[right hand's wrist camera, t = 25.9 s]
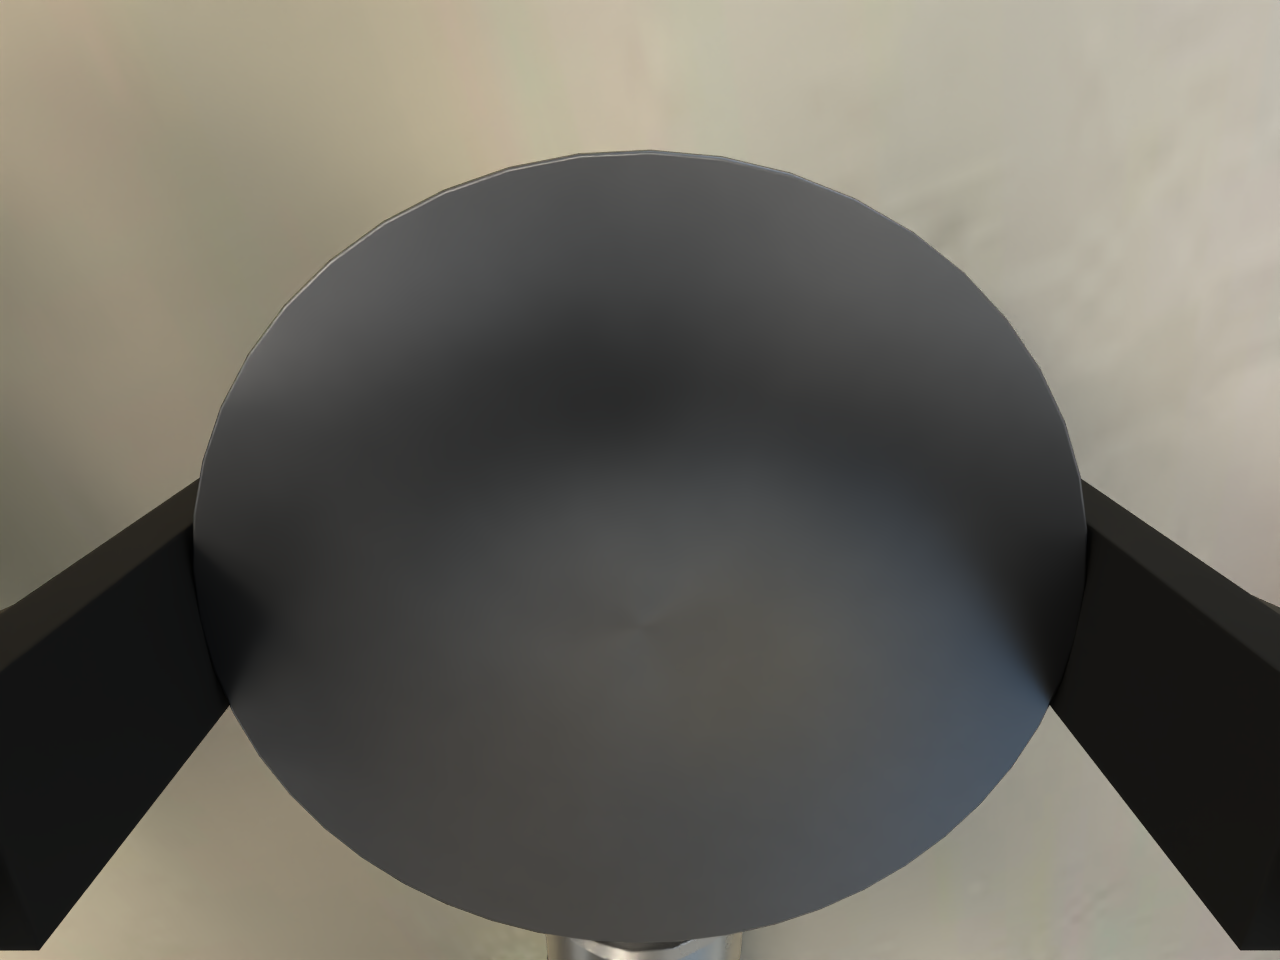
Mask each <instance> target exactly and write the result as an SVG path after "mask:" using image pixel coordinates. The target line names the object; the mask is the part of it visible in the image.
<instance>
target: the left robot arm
mask: <svg viewBox="0 0 1280 960" xmlns="http://www.w3.org/2000/svg"><path fill="white" fill-rule="evenodd" d="M546 941H547V953H548V954H547V959H548V960H740V953H741V946H742V932H740V933H735V934H731V935H725V936H717V937H710V938H702V939H694V940H687V941H673V942H644V943H627V942H610V941H594V940H582V939H576V938H569V937H563V936H557V935H550V934H546Z"/></svg>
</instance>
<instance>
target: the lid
mask: <svg viewBox="0 0 1280 960" xmlns="http://www.w3.org/2000/svg"><path fill="white" fill-rule="evenodd" d="M1086 555H1087V525H1086V517H1085V509H1084V501H1083V493H1082V485H1081V477H1080V473H1079V469H1078V466H1077V462H1076V459H1075V455H1074V452H1073V448H1072V445H1071V441H1070V438H1069V434H1068V431H1067V427H1066V424H1065V421H1064V419H1063V417H1062V414H1061V412H1060V410H1059V408H1058V406H1057V404H1056V402H1055V399H1054V397H1053V395H1052V393H1051V391H1050V389H1049V386H1048V384H1047V382H1046V380H1045V378H1044V376H1043V374H1042V371H1041V369H1040V368H1039V366H1038V365H1037V363H1036V362H1035V360H1034V359H1033V357H1032V356H1031V354H1030V353H1029V351H1028V350H1027V348H1026V347H1025V345H1024V344H1023V342H1022V341H1021V339H1020V338H1019V336H1018V335H1017V333H1016V332H1015V330H1014V329H1013V327H1012V326H1011V324H1010V323H1009V321H1008V320H1007V319H1006V318H1005V316H1004V315H1003V314H1002V313H1001V312H1000V311H999V310H998V309H997V308H996V307H995V306H994V305H993V303H992V302H991V301H990V300H989V299H988V298H987V297H986V296H985V295H984V294H983V293H982V292H981V290H980V289H979V288H978V287H977V286H976V285H975V284H974V283H973V282H972V281H971V280H970V279H969V277H968V276H967V275H966V274H965V273H964V272H963V271H961V270H960V269H959V268H958V267H956V266H955V265H954V264H953V263H951V262H950V261H949V260H948V259H946V258H945V257H944V256H943V255H941V254H940V253H939V252H938V251H936V250H935V249H934V248H933V247H931V246H930V245H929V244H928V243H926V242H925V241H924V240H923V239H921V238H920V237H919V236H917V235H916V234H915V233H914V232H912V231H910V230H909V229H907V228H905V227H904V226H902V225H900V224H898V223H897V222H895V221H893V220H891V219H890V218H888V217H886V216H885V215H883V214H881V213H879V212H878V211H876V210H874V209H872V208H871V207H869V206H867V205H866V204H864V203H862V202H860V201H859V200H857V199H855V198H853V197H850V196H848V195H845V194H843V193H840V192H838V191H835V190H833V189H830V188H828V187H825V186H823V185H820V184H818V183H815V182H812V181H810V180H807V179H805V178H802V177H800V176H797V175H795V174H792V173H789V172H785V171H781V170H777V169H773V168H768V167H764V166H760V165H756V164H752V163H748V162H743V161H739V160H735V159H731V158H727V157H722V156H713V155H702V154H691V153H680V152H669V151H658V150H636V151H616V152H596V153H578V154H573V155H568V156H563V157H558V158H553V159H547V160H542V161H537V162H532V163H527V164H522V165H517V166H511V167H508V168H505V169H502V170H499V171H496V172H493V173H490V174H487V175H485V176H482V177H479V178H476V179H473V180H470V181H467V182H465V183H462V184H459V185H456V186H453V187H450V188H447V189H445V190H442V191H440V192H438V193H436V194H435V195H433V196H431V197H429V198H427V199H425V200H423V201H421V202H419V203H417V204H415V205H413V206H412V207H410V208H408V209H406V210H404V211H402V212H400V213H398V214H396V215H394V216H392V217H390V218H389V219H387V220H385V221H383V222H381V223H380V224H379V225H377V226H376V227H375V228H373V229H372V230H370V231H369V232H368V233H366V234H365V235H364V236H362V237H361V238H359V239H358V240H357V241H355V242H354V243H353V244H351V245H350V246H349V247H347V248H346V249H344V250H343V251H342V252H340V253H339V254H338V255H336V256H335V257H333V258H332V259H331V260H329V261H328V262H327V263H326V264H325V265H324V266H323V267H322V268H321V269H320V270H319V271H318V272H317V273H316V274H315V275H314V276H313V277H312V278H311V279H310V280H309V281H308V282H307V283H306V284H305V285H304V286H303V287H302V288H301V289H300V290H299V291H298V292H297V293H296V294H295V295H294V296H293V297H292V298H291V299H290V300H289V301H288V302H287V303H286V304H285V305H284V306H283V308H282V309H281V310H280V312H279V313H278V314H277V316H276V317H275V318H274V320H273V321H272V322H271V324H270V325H269V327H268V328H267V329H266V331H265V332H264V333H263V335H262V336H261V337H260V339H259V340H258V341H257V343H256V344H255V345H254V347H253V348H252V350H251V351H250V352H249V354H248V355H247V357H246V359H245V361H244V363H243V365H242V367H241V369H240V371H239V373H238V374H237V376H236V378H235V380H234V382H233V384H232V386H231V388H230V390H229V392H228V394H227V396H226V397H225V399H224V401H223V403H222V405H221V407H220V410H219V413H218V416H217V419H216V422H215V425H214V428H213V431H212V434H211V437H210V440H209V443H208V446H207V449H206V452H205V455H204V458H203V462H202V468H201V473H200V479H199V485H198V491H197V497H196V503H195V508H194V514H193V575H194V583H195V590H196V597H197V605H198V611H199V615H200V620H201V624H202V628H203V632H204V636H205V641H206V644H207V648H208V651H209V655H210V658H211V662H212V665H213V668H214V671H215V673H216V675H217V677H218V680H219V682H220V684H221V687H222V689H223V691H224V693H225V696H226V698H227V700H228V702H229V705H230V707H231V709H232V711H233V714H234V715H235V717H236V719H237V720H238V722H239V724H240V725H241V727H242V728H243V730H244V732H245V733H246V735H247V737H248V738H249V740H250V742H251V743H252V745H253V746H254V748H255V750H256V751H257V753H258V755H259V756H260V757H261V759H262V760H263V761H264V762H265V764H266V765H267V766H268V767H269V769H270V770H271V771H272V772H273V774H274V775H275V776H276V777H277V779H278V780H279V781H280V782H281V784H282V785H283V786H284V788H285V789H286V790H287V791H288V793H289V794H290V795H291V796H292V797H293V798H294V799H295V800H296V801H297V802H298V803H299V804H300V805H301V806H302V807H303V808H304V809H305V810H306V811H307V812H308V813H309V814H310V815H311V816H313V817H314V818H315V819H316V820H317V821H318V822H319V823H320V824H321V825H322V826H323V827H324V828H325V829H326V830H327V831H329V832H330V833H331V834H332V835H334V836H335V837H336V838H338V839H339V840H340V841H341V842H343V843H344V844H345V845H347V846H348V847H349V848H350V849H352V850H353V851H354V852H355V853H357V854H358V855H359V856H361V857H362V858H363V859H365V860H367V861H368V862H370V863H371V864H373V865H375V866H376V867H378V868H379V869H381V870H383V871H384V872H386V873H388V874H389V875H391V876H392V877H394V878H396V879H397V880H399V881H400V882H402V883H404V884H406V885H408V886H410V887H412V888H414V889H416V890H418V891H420V892H422V893H424V894H426V895H428V896H431V897H433V898H435V899H437V900H439V901H441V902H443V903H445V904H447V905H450V906H453V907H455V908H458V909H461V910H464V911H466V912H469V913H472V914H475V915H477V916H480V917H483V918H486V919H488V920H491V921H495V922H499V923H503V924H506V925H510V926H514V927H518V928H522V929H526V930H530V931H534V932H538V933H544V934H550V935H557V936H563V937H569V938H576V939H582V940H594V941H610V942H627V943H644V942H673V941H687V940H694V939H702V938H710V937H717V936H725V935H731V934H735V933H740V932H744V931H748V930H753V929H757V928H761V927H766V926H770V925H775V924H778V923H781V922H784V921H787V920H790V919H793V918H796V917H799V916H802V915H805V914H808V913H811V912H814V911H817V910H820V909H822V908H824V907H826V906H829V905H831V904H833V903H835V902H838V901H840V900H842V899H844V898H846V897H849V896H851V895H853V894H855V893H858V892H860V891H862V890H864V889H866V888H868V887H869V886H871V885H873V884H875V883H876V882H878V881H880V880H881V879H883V878H885V877H887V876H888V875H890V874H892V873H894V872H895V871H897V870H899V869H900V868H902V867H904V866H906V865H907V864H908V863H910V862H911V861H912V860H914V859H915V858H917V857H918V856H919V855H921V854H922V853H923V852H925V851H926V850H927V849H929V848H930V847H932V846H933V845H934V844H936V843H937V842H938V841H940V840H941V839H942V838H944V837H945V836H946V835H947V834H948V833H949V832H950V831H952V830H953V829H954V828H955V827H956V826H957V825H958V824H959V823H960V822H961V821H962V820H963V819H965V818H966V817H967V816H968V815H969V814H970V813H971V812H972V811H973V810H974V809H975V808H976V807H978V806H979V805H980V804H981V803H982V801H983V800H984V799H985V798H986V797H987V796H988V794H989V793H990V792H991V791H992V790H993V789H994V787H995V786H996V785H997V784H998V783H999V782H1000V780H1001V779H1002V778H1003V777H1004V776H1005V775H1006V773H1007V772H1008V771H1009V770H1010V769H1011V768H1012V766H1013V765H1014V763H1015V762H1016V760H1017V759H1018V757H1019V756H1020V754H1021V753H1022V751H1023V750H1024V748H1025V747H1026V745H1027V744H1028V742H1029V741H1030V739H1031V737H1032V736H1033V734H1034V733H1035V731H1036V730H1037V728H1038V727H1039V725H1040V723H1041V721H1042V719H1043V717H1044V715H1045V713H1046V711H1047V709H1048V707H1049V705H1050V703H1051V701H1052V699H1053V697H1054V695H1055V692H1056V690H1057V688H1058V686H1059V684H1060V682H1061V680H1062V677H1063V674H1064V671H1065V668H1066V665H1067V661H1068V658H1069V655H1070V652H1071V649H1072V645H1073V641H1074V638H1075V634H1076V629H1077V624H1078V620H1079V615H1080V611H1081V606H1082V601H1083V595H1084V590H1085V584H1086Z"/></svg>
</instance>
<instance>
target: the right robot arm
mask: <svg viewBox="0 0 1280 960" xmlns="http://www.w3.org/2000/svg"><path fill="white" fill-rule="evenodd" d="M199 479H200V478H199ZM199 479H197V480H196V481H194V482H193V483H191V484H190V485H188V486H187V487H186V488H184V489H183V490H181V491H180V492H178V493H177V494H175V495H174V496H172V497H171V498H169V499H168V500H167V501H165V502H164V503H162V504H161V505H159V506H158V507H156V508H155V509H153V510H152V511H150V512H149V513H147V514H146V515H145V516H143V517H142V518H140V519H139V520H137V521H136V522H134V523H133V524H131V525H130V526H128V527H127V528H126V529H124V530H123V531H121V532H120V533H118V534H117V535H115V536H114V537H112V538H111V539H109V540H108V541H106V542H105V543H104V544H102V545H101V546H99V547H98V548H96V549H95V550H93V551H92V552H90V553H89V554H87V555H86V556H85V557H83V558H82V559H80V560H79V561H77V562H76V563H74V564H73V565H71V566H70V567H68V568H67V569H65V570H64V571H63V572H61V573H60V574H58V575H57V576H55V577H54V578H52V579H51V580H49V581H48V582H46V583H45V584H44V585H42V586H41V587H39V588H38V589H36V590H35V591H33V592H32V593H30V594H29V595H27V596H26V597H25V598H23V599H22V600H20V601H19V602H17V603H16V604H14V605H12V606H10V607H8V608H5V609H3V610H1V611H0V950H40V949H41V947H42V946H43V945H44V943H45V942H46V941H47V940H48V938H49V937H50V936H51V934H52V933H53V932H54V931H55V929H56V928H57V927H58V925H59V924H60V923H61V922H62V920H63V919H64V918H65V916H66V915H67V914H68V913H69V911H70V910H71V909H72V907H73V906H74V905H75V904H76V902H77V901H78V900H79V898H80V897H81V896H82V895H83V893H84V892H85V891H86V889H87V888H88V887H89V886H90V884H91V883H92V882H93V880H94V879H95V878H96V876H97V875H98V874H99V873H100V871H101V870H102V869H103V867H104V866H105V865H106V864H107V862H108V861H109V860H110V858H111V857H112V856H113V855H114V853H115V852H116V851H117V849H118V848H119V847H120V846H121V844H122V843H123V842H124V840H125V839H126V838H127V837H128V835H129V834H130V833H131V831H132V830H133V829H134V828H135V826H136V825H137V824H138V822H139V821H140V820H141V819H142V817H143V816H144V815H145V813H146V812H147V811H148V810H149V808H150V807H151V806H152V804H153V803H154V802H155V801H156V799H157V798H158V797H159V795H160V794H161V793H162V792H163V790H164V789H165V788H166V786H167V785H168V784H169V782H170V781H171V780H172V779H173V777H174V776H175V775H176V773H177V772H178V771H179V770H180V768H181V767H182V766H183V764H184V763H185V762H186V761H187V759H188V758H189V757H190V755H191V754H192V753H193V752H194V750H195V749H196V748H197V746H198V745H199V744H200V743H201V741H202V740H203V739H204V737H205V736H206V735H207V734H208V732H209V731H210V730H211V728H212V727H213V726H214V725H215V723H216V722H217V721H218V719H219V718H220V717H221V716H222V714H223V713H224V712H225V710H226V709H227V708H228V707H229V702H228V700H227V698H226V696H225V693H224V691H223V689H222V687H221V684H220V682H219V680H218V677H217V675H216V673H215V671H214V668H213V665H212V662H211V658H210V655H209V651H208V648H207V644H206V641H205V636H204V632H203V628H202V624H201V620H200V615H199V611H198V605H197V597H196V590H195V583H194V575H193V514H194V508H195V503H196V497H197V491H198V485H199ZM1081 485H1082V493H1083V501H1084V509H1085V517H1086V525H1087V555H1086V584H1085V590H1084V595H1083V601H1082V606H1081V611H1080V615H1079V620H1078V624H1077V629H1076V634H1075V638H1074V641H1073V645H1072V649H1071V652H1070V655H1069V658H1068V661H1067V665H1066V668H1065V671H1064V674H1063V677H1062V680H1061V682H1060V684H1059V686H1058V688H1057V690H1056V692H1055V695H1054V697H1053V699H1052V701H1051V703H1050V706H1051V707H1052V708H1053V710H1054V711H1055V712H1056V714H1057V715H1058V716H1059V718H1060V719H1061V720H1062V721H1063V723H1064V724H1065V725H1066V727H1067V728H1068V729H1069V730H1070V732H1071V733H1072V734H1073V736H1074V737H1075V738H1076V739H1077V741H1078V742H1079V743H1080V745H1081V746H1082V747H1083V748H1084V750H1085V751H1086V752H1087V754H1088V755H1089V756H1090V757H1091V759H1092V760H1093V761H1094V763H1095V764H1096V765H1097V766H1098V768H1099V769H1100V770H1101V772H1102V773H1103V774H1104V775H1105V777H1106V778H1107V779H1108V781H1109V782H1110V783H1111V784H1112V786H1113V787H1114V788H1115V790H1116V791H1117V792H1118V793H1119V795H1120V796H1121V797H1122V799H1123V800H1124V801H1125V803H1126V804H1127V805H1128V806H1129V808H1130V809H1131V810H1132V812H1133V813H1134V814H1135V815H1136V817H1137V818H1138V819H1139V821H1140V822H1141V823H1142V824H1143V826H1144V827H1145V828H1146V830H1147V831H1148V832H1149V833H1150V835H1151V836H1152V837H1153V839H1154V840H1155V841H1156V842H1157V844H1158V845H1159V846H1160V848H1161V849H1162V850H1163V851H1164V853H1165V854H1166V855H1167V857H1168V858H1169V859H1170V860H1171V862H1172V863H1173V864H1174V866H1175V867H1176V868H1177V869H1178V871H1179V872H1180V873H1181V875H1182V876H1183V877H1184V878H1185V880H1186V881H1187V882H1188V884H1189V885H1190V886H1191V888H1192V889H1193V890H1194V891H1195V893H1196V894H1197V895H1198V897H1199V898H1200V899H1201V900H1202V902H1203V903H1204V904H1205V906H1206V907H1207V908H1208V909H1209V911H1210V912H1211V913H1212V915H1213V916H1214V917H1215V918H1216V920H1217V921H1218V922H1219V924H1220V925H1221V926H1222V927H1223V929H1224V930H1225V931H1226V933H1227V934H1228V935H1229V936H1230V938H1231V939H1232V940H1233V942H1234V943H1235V944H1236V945H1237V947H1238V948H1239V949H1240V950H1280V607H1277V606H1275V605H1273V604H1270V603H1268V602H1266V601H1264V600H1261V599H1259V598H1257V597H1255V596H1252V595H1250V594H1249V593H1248V592H1246V591H1245V590H1243V589H1242V588H1240V587H1239V586H1237V585H1236V584H1234V583H1233V582H1231V581H1230V580H1229V579H1227V578H1226V577H1224V576H1223V575H1221V574H1220V573H1218V572H1217V571H1215V570H1214V569H1212V568H1211V567H1210V566H1208V565H1207V564H1205V563H1204V562H1202V561H1201V560H1199V559H1198V558H1196V557H1195V556H1193V555H1192V554H1190V553H1189V552H1188V551H1186V550H1185V549H1183V548H1182V547H1180V546H1179V545H1177V544H1176V543H1174V542H1173V541H1171V540H1170V539H1169V538H1167V537H1166V536H1164V535H1163V534H1161V533H1160V532H1158V531H1157V530H1155V529H1154V528H1152V527H1151V526H1150V525H1148V524H1147V523H1145V522H1144V521H1142V520H1141V519H1139V518H1138V517H1136V516H1135V515H1133V514H1132V513H1130V512H1129V511H1128V510H1126V509H1125V508H1123V507H1122V506H1120V505H1119V504H1117V503H1116V502H1114V501H1113V500H1111V499H1110V498H1109V497H1107V496H1106V495H1104V494H1103V493H1101V492H1100V491H1098V490H1097V489H1095V488H1094V487H1092V486H1091V485H1089V484H1088V483H1087V482H1085V481H1084V480H1082V479H1081Z"/></svg>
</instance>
